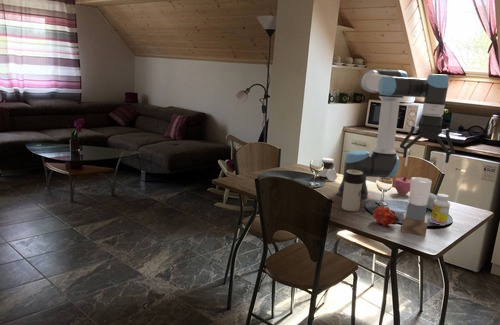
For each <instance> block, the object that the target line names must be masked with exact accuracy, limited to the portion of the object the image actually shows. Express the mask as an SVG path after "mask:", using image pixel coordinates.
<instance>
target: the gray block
mask: <svg viewBox="0 0 500 325" xmlns="http://www.w3.org/2000/svg"><path fill="white" fill-rule="evenodd" d="M405 213H406V219H412V220H418V221H423V222H424V221H425V216H426V215H427V214H426V213H427V205H426V206H417V205H413V204H411V203H410V202H409V199H408V201H407V207H406V212H405Z"/></svg>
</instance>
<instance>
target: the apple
mask: <svg viewBox="0 0 500 325" xmlns="http://www.w3.org/2000/svg"><path fill="white" fill-rule="evenodd" d="M393 182H394V183H393V185H394V188H395V190H396V192H397V194H399V195H401V196H406V195H408V194H409V193H410V183H411V179H408V178H407V177H398V178H397V177H396V178H394V181H393Z"/></svg>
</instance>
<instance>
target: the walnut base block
mask: <svg viewBox="0 0 500 325" xmlns="http://www.w3.org/2000/svg"><path fill="white" fill-rule="evenodd" d="M406 213H407V212H404V211H403V215H402V224H401V233H403V234H408V235H409V234H410V235H413V236H420V237H426V234H427V229H428V224H429V222H428V215H425V221H424V222H423V221H418V220H412V219H406Z"/></svg>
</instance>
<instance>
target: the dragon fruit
mask: <svg viewBox="0 0 500 325" xmlns="http://www.w3.org/2000/svg"><path fill="white" fill-rule="evenodd" d="M372 213H373V214H371V216H372V218H373V219H375V220H376V223H377V225H380V224H381V225H383V226H384V227H387V228H392V226H391V225H397V222H400V218H399V216H398V215H396V212H395V211H394V210H391V208H390V207H388V206H385V205H380V206H379V205H378V206H377V207H376V208H375V209H373V212H372Z"/></svg>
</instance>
